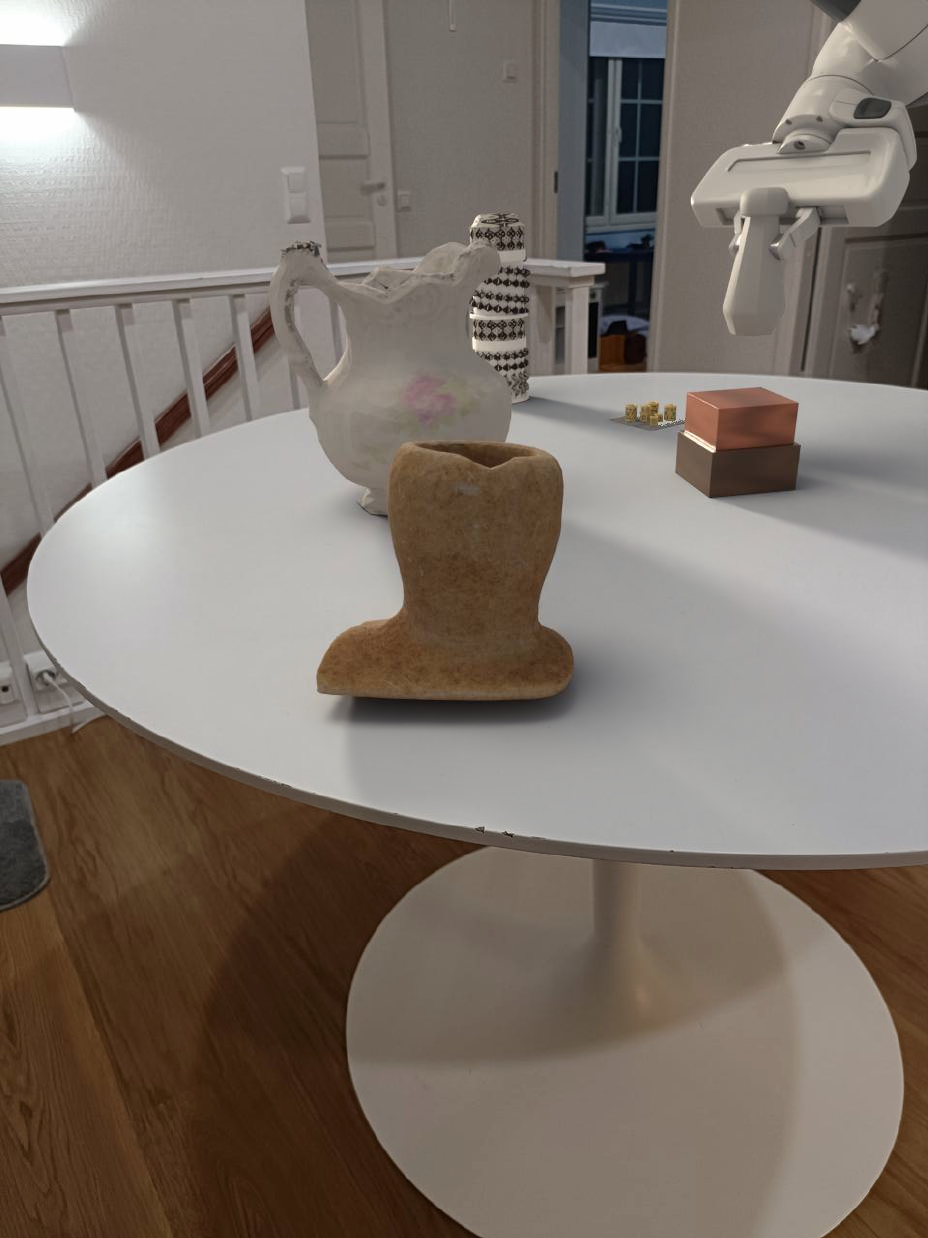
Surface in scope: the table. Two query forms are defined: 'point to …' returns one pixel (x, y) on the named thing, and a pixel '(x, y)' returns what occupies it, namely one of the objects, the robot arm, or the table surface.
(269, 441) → the table surface
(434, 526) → the stone cup
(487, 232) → the white patterned cylinder
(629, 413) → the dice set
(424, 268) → the ceramic pitcher
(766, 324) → the salt shaker
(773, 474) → the block stack
